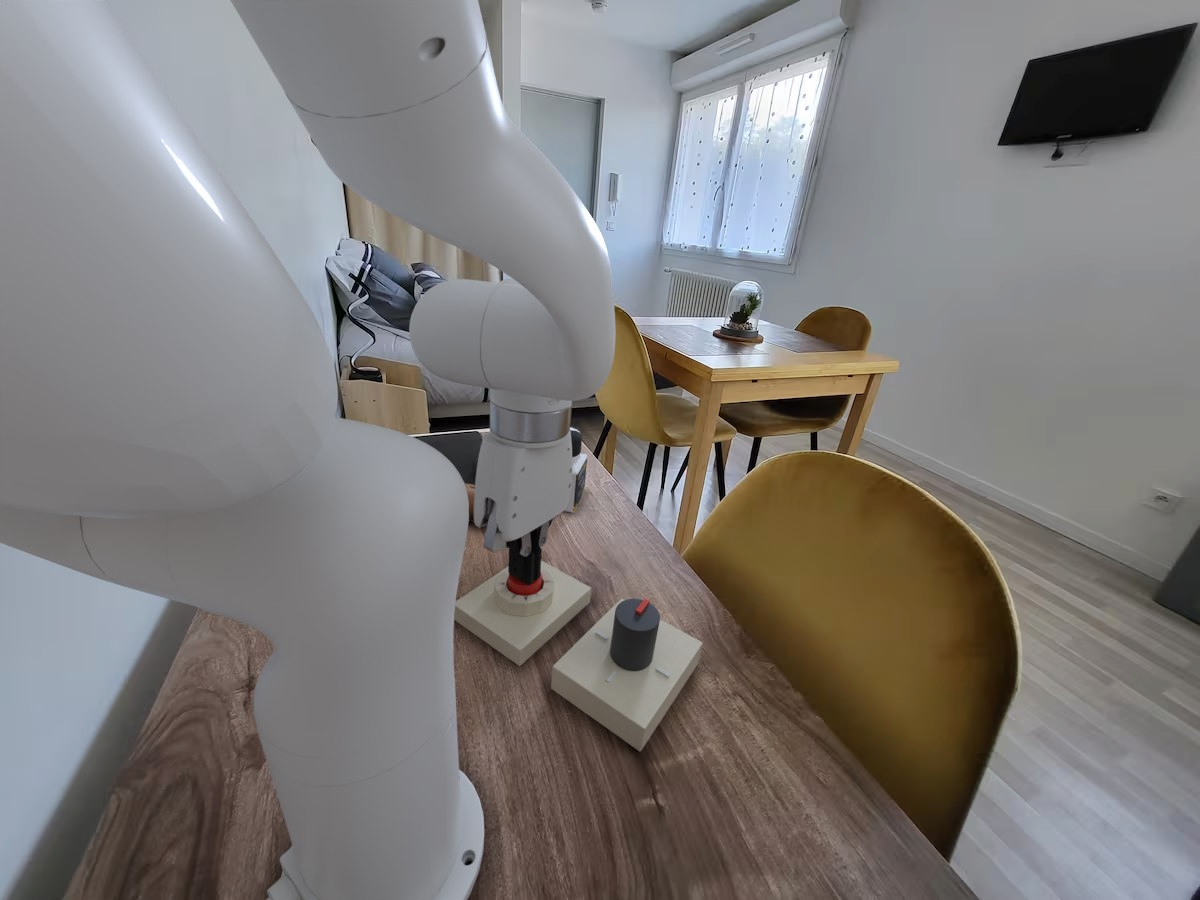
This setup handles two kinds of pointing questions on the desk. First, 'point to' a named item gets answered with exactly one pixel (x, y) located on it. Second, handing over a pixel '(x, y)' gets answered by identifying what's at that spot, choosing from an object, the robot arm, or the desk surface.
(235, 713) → the desk surface
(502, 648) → the button block
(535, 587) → the power button
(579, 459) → the medicine bottle
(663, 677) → the timer panel
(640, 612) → the timer knob
